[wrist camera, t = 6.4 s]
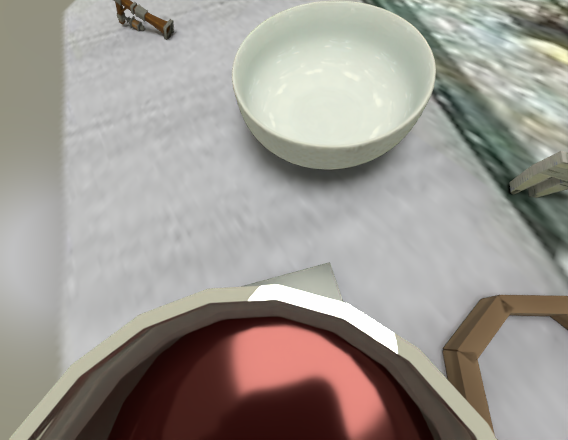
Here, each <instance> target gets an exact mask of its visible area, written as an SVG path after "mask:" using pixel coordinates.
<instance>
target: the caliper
mask: <svg viewBox="0 0 568 440" xmlns="http://www.w3.org/2000/svg"><path fill="white" fill-rule="evenodd" d="M527 188H528V192H529V197H534V198H537V197H541V196H544V195H548V194H552V193H556V192H559V191H563V190H567V189H568V153H567V152H563V151H560V152H558V153H556V154H554V155H552V156H550V157H548V158H546V159H544V160H542V161H540V162H538V163H536V164H534V165H532V166H531V167H529V168H528V169H527V170H525V171H524V172H523V173H521V174H520V175H518V176H517V177H516V178H514V179H513V180H512V181H511V182H510V190H511V193H512V194H516V193H518V192H520V191H522V190H525V189H527Z"/></svg>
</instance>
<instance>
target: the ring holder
mask: <svg viewBox="0 0 568 440" xmlns="http://www.w3.org/2000/svg"><path fill="white" fill-rule="evenodd" d="M509 315H512V316H550V317H552V318H553V319H554V320H556V321H557V322H558V323H560V324H561V325H562V326H563V327H565V328H566V329H567V330H568V296H540V295H497V296H492V297H487V298H483V299H481V300H480V301H479V302H478V303H477V305H476V306H475V307H474V309H473V310H472V311H471V313H470V314H469V315H468V316H467V318H466V319H465V320H464V322H463V323H462V324H461V326H460V327H459V328H458V329H457V331H456V332H455V333H454V335H453V336H452V337H451V339H450V340H449V341H448V343H447V344H446V345H445V346H444V348H443V349H444V350H443V356H444V361H445V366H446V372H447V377H448V381H449V382H450V383H451V384H452V385H453V386H454V387H455V389H456V390H457V391H458V392H459V393H460V394H461V395H462V396H463V397H464V398H465V399H466V401H467V402H468V403H469V404H470V405H471V406H472V407H473V408H474V409H475V410H476V411H477V413H478V414H479V415H480V416H481V417H482V418H483V419H484V420H485V421H486V422H487V423H488V425H489V427H490V428H491V430H492V432H493V434H494V430H493V426H492V421H491V417H490V413H489V408H488V404H487V399H486V395H485V391H484V386H483V382H482V377H481V373H480V369H479V364H478V360H477V359H478V358H479V356H480V355H481V354H482V352H483V351H484V349H485V348H486V347H487V345H488V344H489V342H490V341H491V340H492V338H493V337H494V335H495V334H496V333H497V331H498V330H499V329H500V327H501V326H502V324H503V323H504V322H505V320H506V319H507V317H508V316H509Z"/></svg>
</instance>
